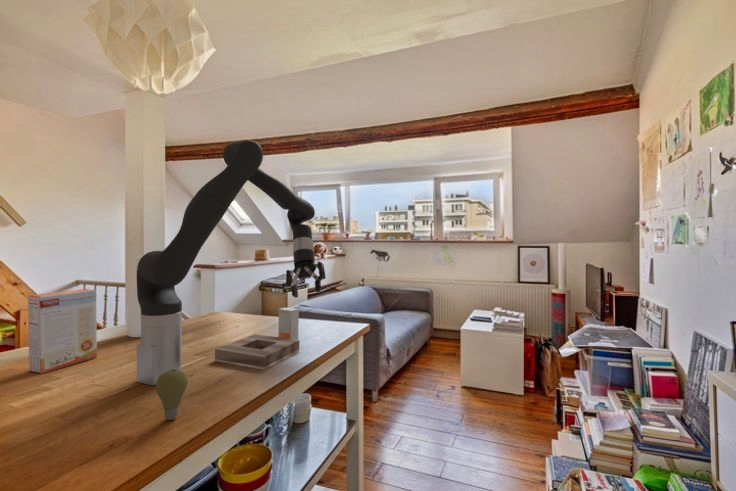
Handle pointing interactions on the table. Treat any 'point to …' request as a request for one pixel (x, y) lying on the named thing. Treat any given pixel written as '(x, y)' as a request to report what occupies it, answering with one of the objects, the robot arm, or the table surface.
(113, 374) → the table surface
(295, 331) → the skincare box
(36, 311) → the cracker box
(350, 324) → the table surface
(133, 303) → the wine bottle
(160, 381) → the light bulb
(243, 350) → the walnut stand
